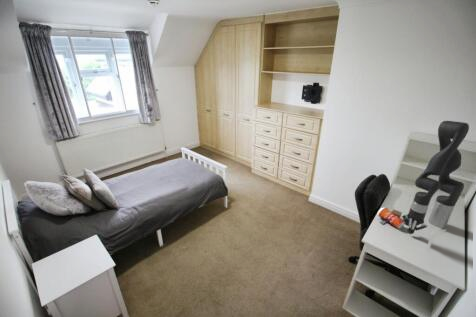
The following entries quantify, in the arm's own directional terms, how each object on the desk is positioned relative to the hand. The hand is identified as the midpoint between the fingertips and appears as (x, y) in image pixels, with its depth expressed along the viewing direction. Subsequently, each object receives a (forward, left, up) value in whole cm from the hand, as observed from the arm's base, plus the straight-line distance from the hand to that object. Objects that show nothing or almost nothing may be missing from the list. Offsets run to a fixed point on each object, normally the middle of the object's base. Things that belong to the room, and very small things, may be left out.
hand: (410, 233), depth 136 cm
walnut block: (-10, -14, -2) cm, 17 cm away
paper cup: (-1, -6, +1) cm, 6 cm away
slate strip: (0, -15, -2) cm, 15 cm away
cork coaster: (-10, -14, -2) cm, 17 cm away
